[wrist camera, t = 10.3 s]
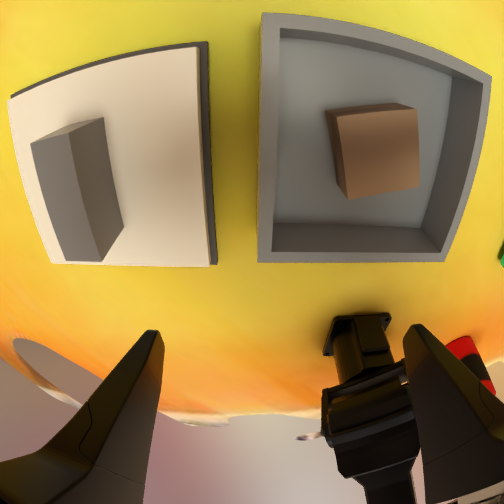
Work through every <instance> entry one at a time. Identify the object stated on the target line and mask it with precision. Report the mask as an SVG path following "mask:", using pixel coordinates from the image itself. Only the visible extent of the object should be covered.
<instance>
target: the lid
mask: <svg viewBox="0 0 504 504" xmlns="http://www.w3.org/2000/svg"><path fill="white" fill-rule="evenodd" d="M7 105H8V113H9V121H10V127H11V133H12V139H13V144H14V149H15V154H16V158H17V162H18V167H19V171H20V175H21V178H22V182H23V186H24V189H25V192H26V196H27V199H28V202H29V205H30V208H31V211H32V214H33V217H34V220H35V223H36V226H37V228H38V231H39V234H40V236H41V239H42V241H43V244H44V246H45V249H46V251H47V253H48V256H49V258H50V260H51V263H61V264H91V265H126V266H174V267H210V262H211V253H210V243H209V231H208V220H207V207H206V194H205V180H204V164H203V146H202V126H201V100H200V51H199V48H198V47H190V48H181V49H173V50H166V51H160V52H153V53H148V54H142V55H137V56H133V57H128V58H123V59H119V60H115V61H111V62H107V63H104V64H100V65H96V66H93V67H90V68H86V69H83V70H80V71H77V72H74V73H71V74H68V75H65V76H63V77H60V78H57V79H55V80H52V81H49V82H47V83H45V84H42V85H40V86H37V87H35V88H33V89H31V90H28V91H26V92H24V93H22V94H20V95H18V96H16V97H14V98H12V99H10V100H8V101H7Z"/></svg>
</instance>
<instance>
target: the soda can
mask: <svg viewBox="0 0 504 504" xmlns="http://www.w3.org/2000/svg"><path fill="white" fill-rule="evenodd" d="M446 347H447V348H448V349H449V350H450V351H451V352H452V353H453V354H454V355H455V356H456V357H457V358H458V359H459V360H460V361H461V362H462V363H463V364H464V365H465V366H466V367H467V368H468V369H469V370H470V371H471V372H472V373H473V374H474V375H475V376H476V377H477V378H478V379H479V381H481V382H482V383H483V384H484V385H485V386H486V387H487V388H488V389H489V390H490V391H491V392H492V393H493V394H494V395H496V391H495V389H494V386H493V384H492V381H491V379H490V376H489V374H488V372H487V370H486V367H485V365H484V363H483V361H482V359H481V356H480V354H479V352H478V350H477V348H476V346H475V344H474V342H473V340H472V339H471V338H469V337H462V338H459V339H457V340H455V341H453V342H451V343H450V344H448V345H447V346H446Z"/></svg>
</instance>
